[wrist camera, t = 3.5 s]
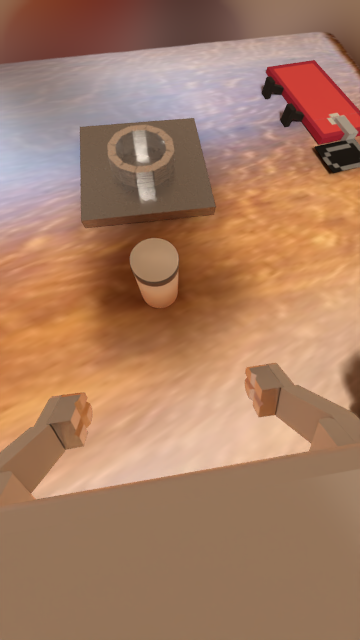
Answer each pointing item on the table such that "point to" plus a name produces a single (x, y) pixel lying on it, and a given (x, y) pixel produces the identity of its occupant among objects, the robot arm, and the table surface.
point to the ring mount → (142, 173)
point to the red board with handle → (318, 110)
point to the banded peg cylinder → (156, 271)
